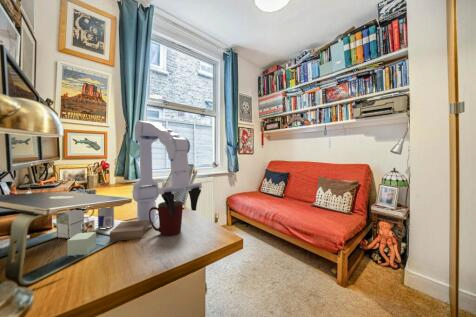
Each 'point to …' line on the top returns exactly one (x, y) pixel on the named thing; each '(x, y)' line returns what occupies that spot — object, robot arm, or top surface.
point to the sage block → (81, 243)
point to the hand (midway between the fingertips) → (183, 212)
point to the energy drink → (105, 217)
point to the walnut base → (129, 230)
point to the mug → (168, 219)
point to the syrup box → (69, 223)
